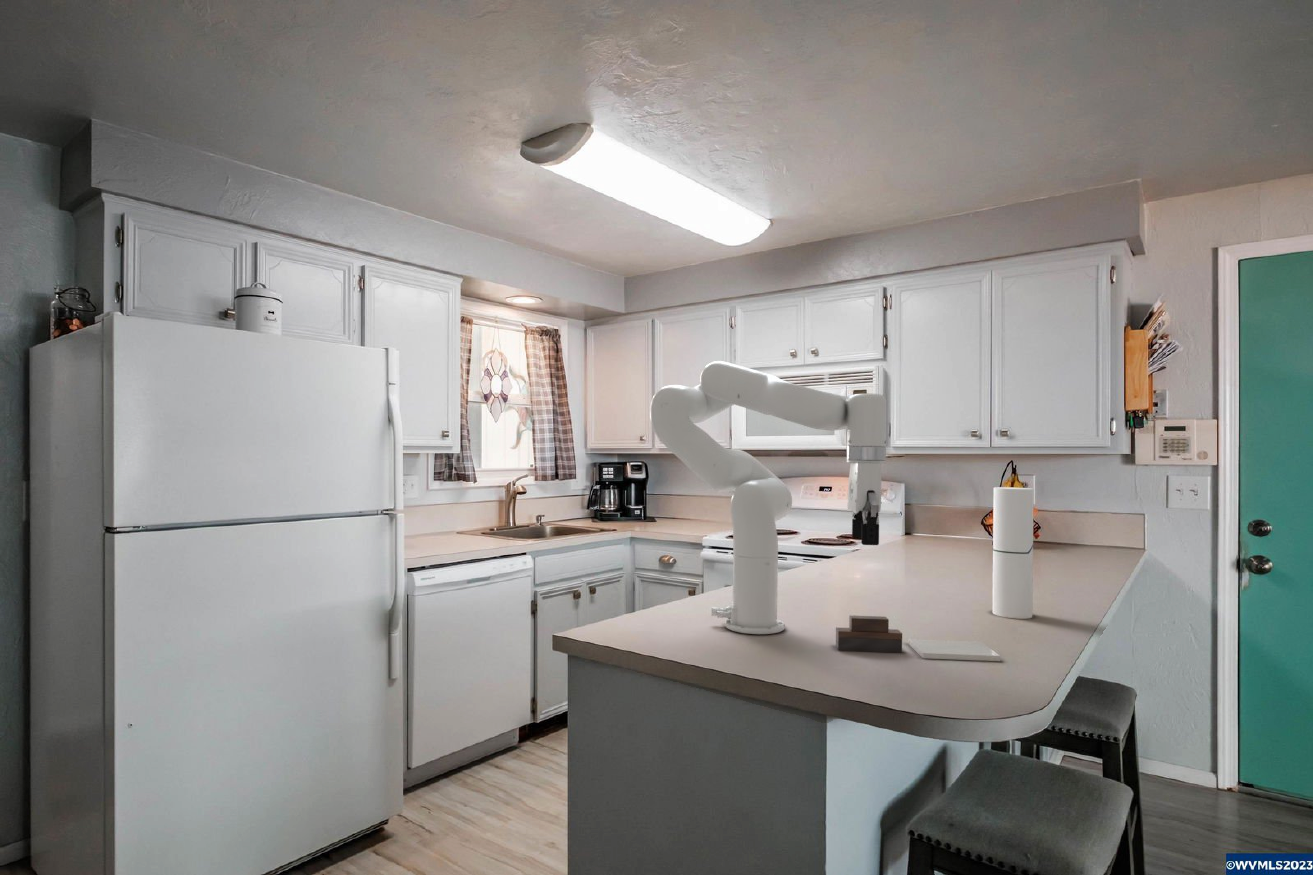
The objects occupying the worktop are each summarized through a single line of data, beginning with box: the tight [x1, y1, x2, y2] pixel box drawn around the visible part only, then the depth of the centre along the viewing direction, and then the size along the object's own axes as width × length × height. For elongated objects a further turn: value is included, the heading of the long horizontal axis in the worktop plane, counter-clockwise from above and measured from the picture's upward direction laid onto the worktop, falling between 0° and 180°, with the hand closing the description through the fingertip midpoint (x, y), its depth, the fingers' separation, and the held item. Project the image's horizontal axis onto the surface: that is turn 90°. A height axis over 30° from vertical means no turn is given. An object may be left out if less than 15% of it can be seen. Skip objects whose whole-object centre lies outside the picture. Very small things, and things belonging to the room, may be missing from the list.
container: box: [991, 486, 1035, 620], centre depth 176 cm, size 9×9×30 cm
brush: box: [835, 615, 903, 654], centre depth 143 cm, size 12×3×6 cm, turn 85°
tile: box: [908, 638, 1002, 662], centre depth 142 cm, size 14×10×1 cm
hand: (864, 541), depth 147 cm, fingers open, 9 cm apart
